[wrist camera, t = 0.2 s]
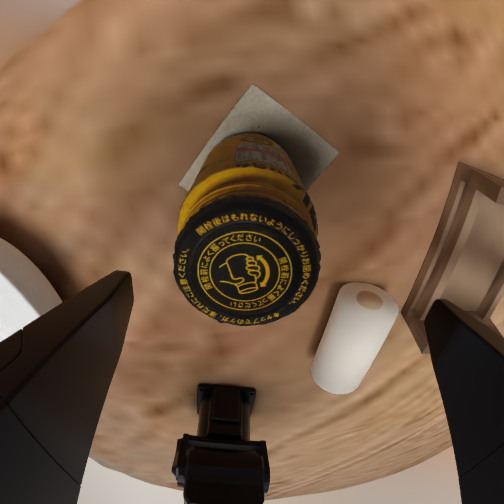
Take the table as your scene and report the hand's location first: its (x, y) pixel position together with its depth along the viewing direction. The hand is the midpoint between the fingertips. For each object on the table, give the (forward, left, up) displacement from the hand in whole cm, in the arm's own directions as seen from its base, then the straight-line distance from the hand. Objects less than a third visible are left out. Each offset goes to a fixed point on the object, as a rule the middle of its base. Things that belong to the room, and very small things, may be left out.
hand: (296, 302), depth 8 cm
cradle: (-4, -20, -14) cm, 25 cm away
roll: (-13, -9, -12) cm, 20 cm away
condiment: (0, +1, -15) cm, 15 cm away
